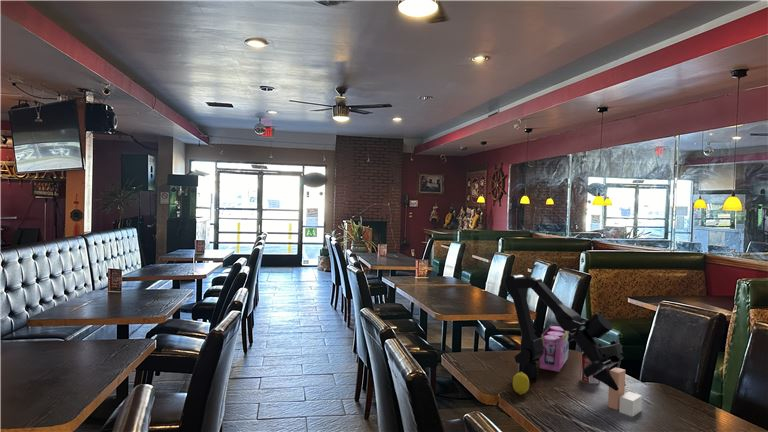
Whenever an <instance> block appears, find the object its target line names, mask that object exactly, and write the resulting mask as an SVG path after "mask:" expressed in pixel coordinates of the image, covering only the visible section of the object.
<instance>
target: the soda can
mask: <svg viewBox="0 0 768 432" xmlns="http://www.w3.org/2000/svg"><path fill="white" fill-rule="evenodd" d="M582 354H583V351H582V352H581V353H580V369H579V370H580V372H579V375H580V376H579V380H580V382H582V383H583V384H587V385H600V383H601V381H599V380H597V379H595V378H592V377H593V376H594V375H595V374H592V376H590V377H588V378H586V377H585V375H584V374H583V369H584V368H585V367H587V366H588V365H590V364H591V362H590V361H589V359H588V358H587V357H586V356H584V357H583V355H582Z"/></svg>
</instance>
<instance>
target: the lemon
mask: <svg viewBox="0 0 768 432" xmlns="http://www.w3.org/2000/svg"><path fill="white" fill-rule="evenodd" d="M512 387H513V390H514V391H515V392H516V393H517V394H519V396H522V395H524V394H526V393H527V392H528V391H529V389H530V381H529V379H528V377H527V375H526V374H524V373H523V372H520V373H518V372H516V374H515V375H514V376H513V378H512Z"/></svg>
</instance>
